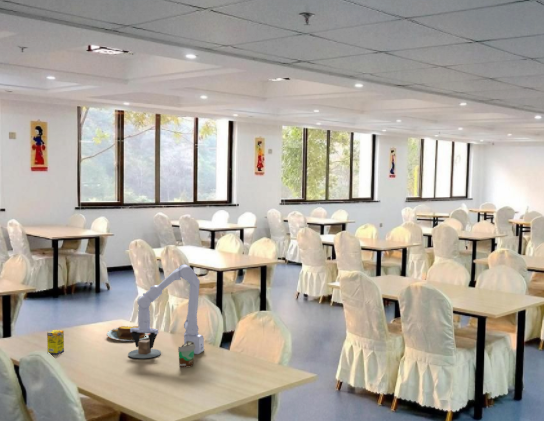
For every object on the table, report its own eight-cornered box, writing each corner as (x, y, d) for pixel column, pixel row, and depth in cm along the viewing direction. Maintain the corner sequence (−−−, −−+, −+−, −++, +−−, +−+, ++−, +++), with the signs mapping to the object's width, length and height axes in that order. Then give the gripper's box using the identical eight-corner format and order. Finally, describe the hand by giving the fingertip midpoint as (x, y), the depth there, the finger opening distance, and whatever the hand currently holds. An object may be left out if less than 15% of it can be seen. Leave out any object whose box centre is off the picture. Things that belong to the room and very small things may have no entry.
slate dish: (166, 351, 339) (166, 349, 339) (151, 360, 324) (151, 358, 324) (138, 349, 344) (138, 347, 344) (122, 358, 329) (122, 356, 329)
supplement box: (57, 354, 335) (57, 333, 334) (47, 354, 337) (46, 332, 336) (64, 351, 341) (63, 330, 340) (54, 350, 342) (53, 329, 342)
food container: (191, 369, 311) (190, 347, 310) (178, 368, 312) (178, 347, 311) (199, 361, 323) (198, 340, 322) (187, 360, 324) (186, 340, 323)
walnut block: (150, 352, 335) (150, 340, 335) (146, 354, 331) (146, 342, 331) (142, 351, 337) (142, 339, 336) (138, 353, 333) (138, 341, 332)
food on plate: (150, 330, 385) (150, 319, 385) (156, 341, 362) (156, 329, 361) (105, 333, 378) (105, 322, 377) (107, 345, 354) (107, 332, 354)
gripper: (126, 321, 331) (127, 348, 332) (153, 323, 327) (154, 350, 328) (133, 317, 338) (134, 344, 339) (160, 319, 334) (160, 346, 335)
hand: (144, 347), depth 334 cm, fingers open, 7 cm apart
